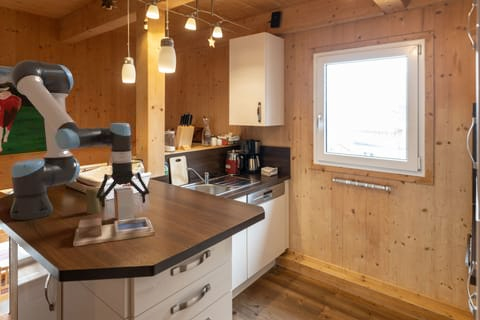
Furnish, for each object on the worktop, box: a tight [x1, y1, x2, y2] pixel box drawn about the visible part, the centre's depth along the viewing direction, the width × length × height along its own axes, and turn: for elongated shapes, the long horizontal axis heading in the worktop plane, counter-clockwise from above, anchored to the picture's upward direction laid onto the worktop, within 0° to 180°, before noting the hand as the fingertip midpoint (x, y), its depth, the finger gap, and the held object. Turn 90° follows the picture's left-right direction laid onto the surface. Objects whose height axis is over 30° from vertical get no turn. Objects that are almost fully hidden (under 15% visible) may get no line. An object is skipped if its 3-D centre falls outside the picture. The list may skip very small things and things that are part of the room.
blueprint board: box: [72, 216, 156, 247], centre depth 113 cm, size 26×14×5 cm, turn 113°
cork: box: [85, 186, 102, 215], centre depth 137 cm, size 6×6×11 cm
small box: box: [113, 185, 135, 221], centre depth 128 cm, size 8×6×13 cm
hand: (124, 212), depth 128 cm, fingers open, 13 cm apart
